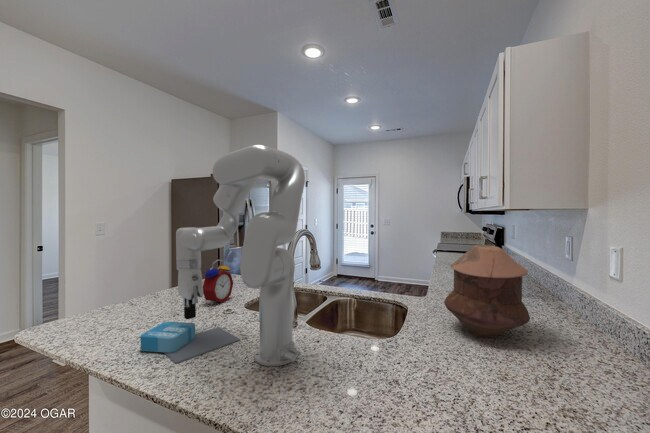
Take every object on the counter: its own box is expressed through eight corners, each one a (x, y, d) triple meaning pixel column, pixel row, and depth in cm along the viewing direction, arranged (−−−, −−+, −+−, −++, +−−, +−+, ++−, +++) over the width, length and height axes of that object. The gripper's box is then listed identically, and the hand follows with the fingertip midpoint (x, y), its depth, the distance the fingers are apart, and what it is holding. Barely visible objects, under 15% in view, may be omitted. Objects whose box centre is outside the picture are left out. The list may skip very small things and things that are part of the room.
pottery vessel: (468, 313, 119) (468, 240, 118) (542, 335, 98) (543, 246, 97) (429, 328, 104) (429, 245, 103) (507, 358, 83) (508, 253, 82)
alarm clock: (213, 307, 129) (212, 262, 128) (197, 305, 131) (196, 261, 131) (234, 297, 143) (233, 257, 142) (219, 296, 145) (218, 256, 145)
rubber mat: (240, 340, 96) (240, 339, 96) (175, 364, 81) (175, 362, 81) (218, 327, 106) (218, 326, 106) (157, 347, 92) (157, 345, 92)
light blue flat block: (197, 322, 98) (173, 338, 86) (197, 336, 98) (173, 353, 87) (165, 321, 100) (137, 336, 88) (165, 334, 100) (138, 350, 88)
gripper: (209, 265, 96) (210, 320, 96) (191, 260, 106) (192, 309, 107) (186, 268, 90) (187, 327, 91) (169, 262, 101) (170, 315, 101)
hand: (190, 317), depth 99 cm, fingers closed
